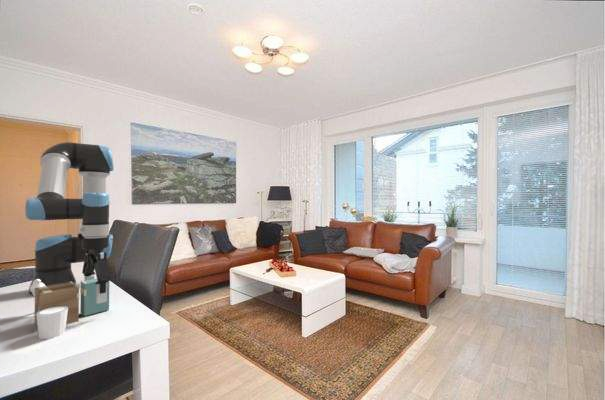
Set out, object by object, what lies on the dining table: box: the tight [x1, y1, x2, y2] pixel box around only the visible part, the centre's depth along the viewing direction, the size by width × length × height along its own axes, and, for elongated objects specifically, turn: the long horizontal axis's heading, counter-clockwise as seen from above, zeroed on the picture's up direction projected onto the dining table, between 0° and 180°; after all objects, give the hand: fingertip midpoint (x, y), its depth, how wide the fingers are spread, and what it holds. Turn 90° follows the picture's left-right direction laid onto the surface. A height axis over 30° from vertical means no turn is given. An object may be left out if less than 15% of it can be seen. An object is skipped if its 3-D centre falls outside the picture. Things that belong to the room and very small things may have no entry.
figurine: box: [29, 279, 45, 317], centre depth 92 cm, size 7×4×12 cm, turn 45°
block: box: [79, 278, 110, 317], centre depth 94 cm, size 5×7×11 cm, turn 142°
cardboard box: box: [34, 281, 80, 329], centre depth 86 cm, size 9×9×11 cm
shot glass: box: [36, 306, 68, 340], centre depth 79 cm, size 7×7×7 cm
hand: (95, 298), depth 94 cm, fingers open, 13 cm apart
